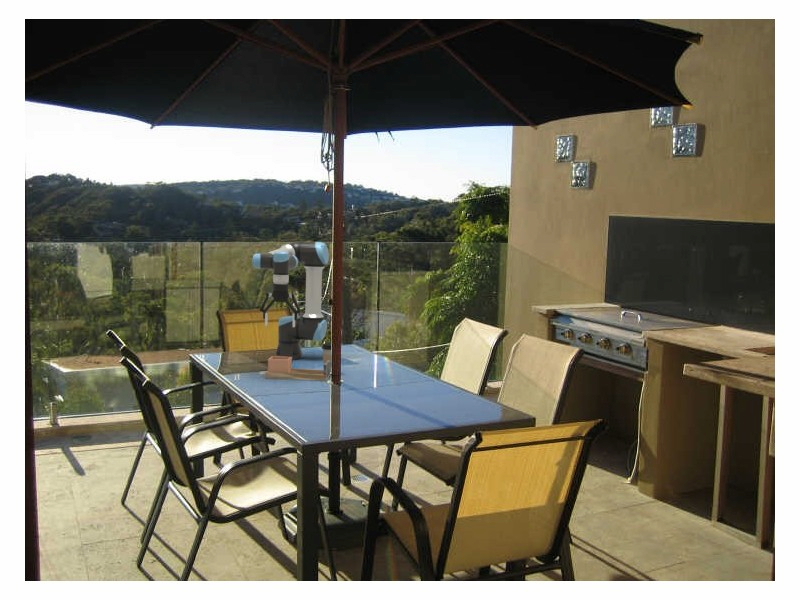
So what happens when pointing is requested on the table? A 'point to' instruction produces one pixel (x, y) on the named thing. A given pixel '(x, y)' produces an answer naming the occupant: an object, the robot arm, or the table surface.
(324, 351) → the coffee cup
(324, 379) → the bay
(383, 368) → the table surface
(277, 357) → the box
